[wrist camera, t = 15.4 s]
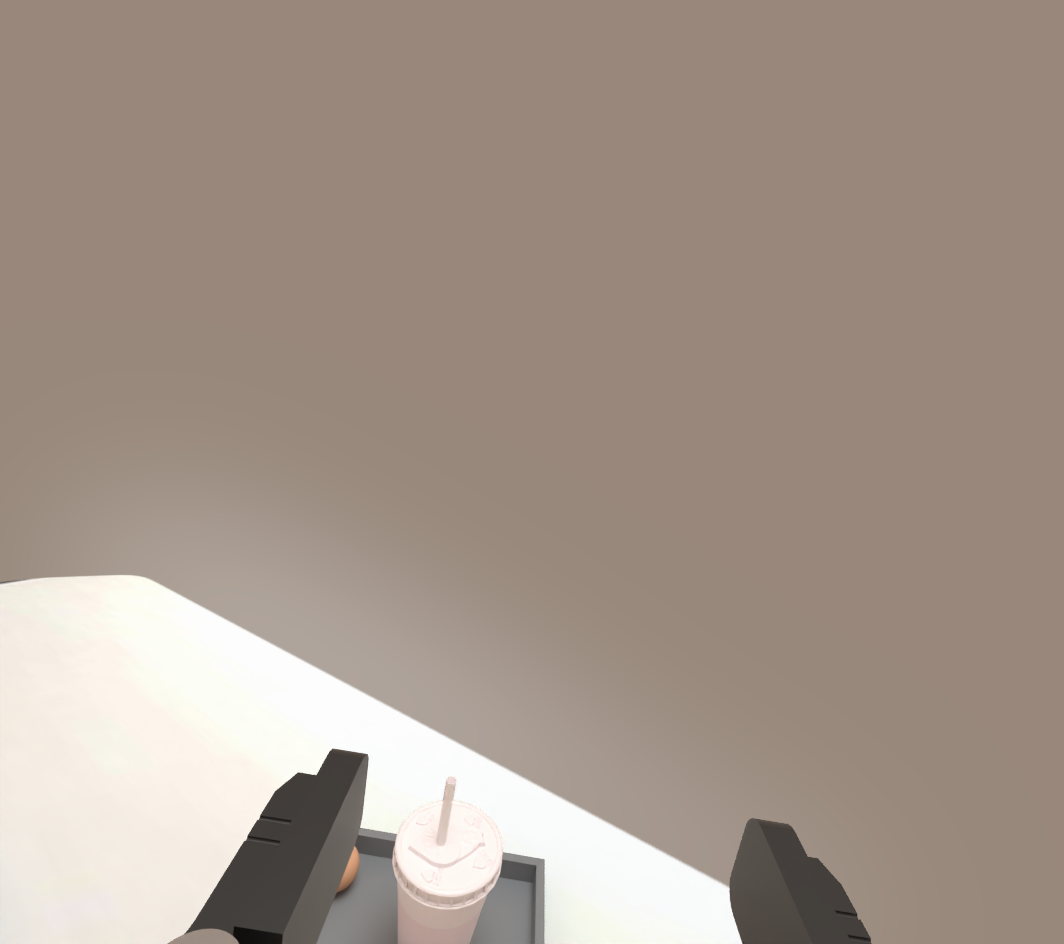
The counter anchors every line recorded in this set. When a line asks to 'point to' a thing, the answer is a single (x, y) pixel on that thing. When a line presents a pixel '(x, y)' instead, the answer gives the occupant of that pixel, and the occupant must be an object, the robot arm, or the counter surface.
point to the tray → (372, 900)
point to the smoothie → (444, 870)
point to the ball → (350, 870)
